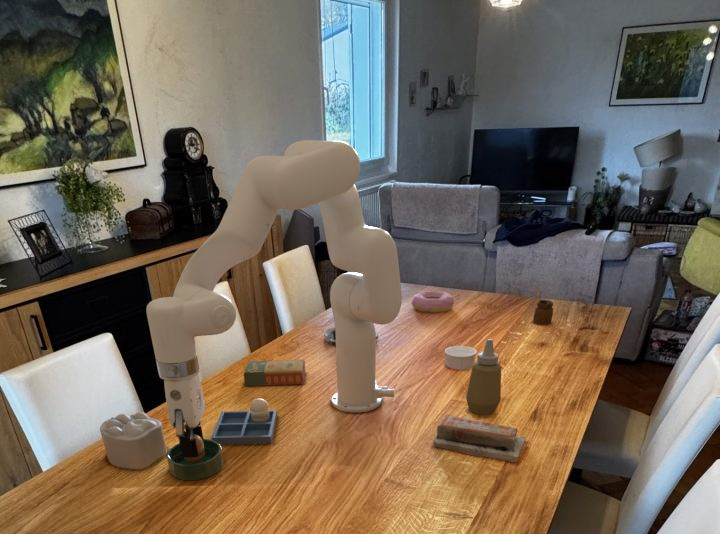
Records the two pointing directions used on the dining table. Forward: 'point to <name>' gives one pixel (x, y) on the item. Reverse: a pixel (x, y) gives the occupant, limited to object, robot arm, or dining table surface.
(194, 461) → the brown egg
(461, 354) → the ramekin
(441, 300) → the donut
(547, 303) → the utensil holder
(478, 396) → the squeeze bottle
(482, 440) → the packaged product
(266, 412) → the cream egg
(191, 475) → the bowl
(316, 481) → the dining table surface
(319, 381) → the dining table surface
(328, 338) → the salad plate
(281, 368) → the carton
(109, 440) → the lumpy-topped squat cylinder
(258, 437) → the egg tray
